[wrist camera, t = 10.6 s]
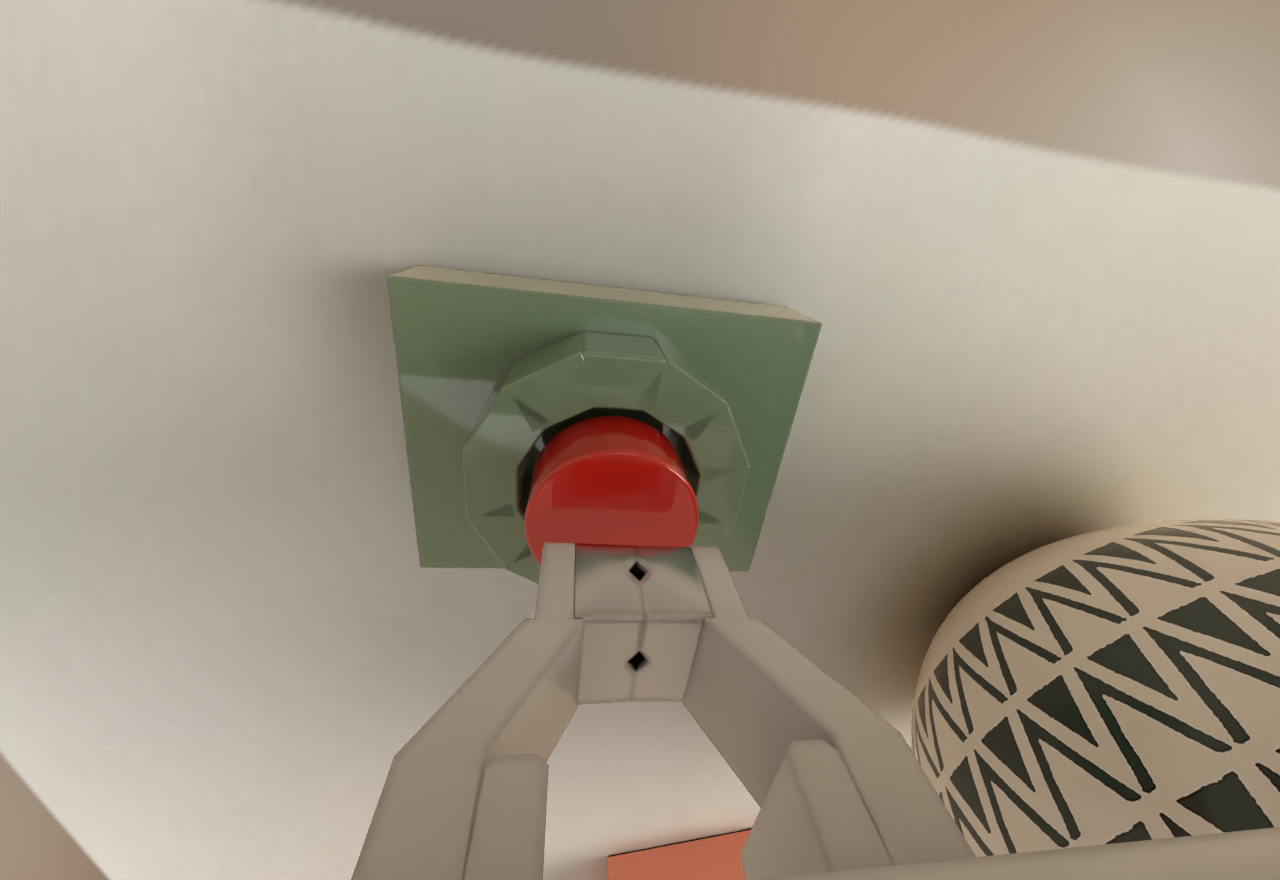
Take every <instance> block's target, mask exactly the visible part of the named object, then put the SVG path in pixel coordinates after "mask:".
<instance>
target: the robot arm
mask: <svg viewBox="0 0 1280 880" xmlns="http://www.w3.org/2000/svg"><path fill="white" fill-rule="evenodd" d="M624 701H684V703H683V704H684V705H685V707H686V708H687V709H688V711H689V712H690V713H691V715H692V716H693V717H694V719H695V720H696V722H697V723H698V724H699V726H700V727H701V728H702V730H703V731H704V732H705V734H706V735H707V736H708V738H709V739H710V740H711V742H712V743H713V744H714V746H715V747H716V748H717V750H718V751H719V752H720V754H721V755H722V756H723V758H724V759H725V760H726V762H727V763H728V764H729V766H730V767H731V769H732V770H733V771H734V773H735V774H736V775H737V777H738V778H739V779H740V781H741V782H742V783H743V785H744V786H745V787H746V789H747V790H748V791H749V793H750V794H751V795H752V797H753V798H754V799H755V801H756V802H757V803H758V805H759V806H760V807H761V810H760V812H759V814H758V816H757V819H756V821H755V823H754V825H753V828H752V830H751V832H750V834H749V837H748V839H747V841H746V843H745V845H744V848H743V850H742V852H741V854H740V857H741V861H742V865H743V869H744V874H745V878H746V880H1280V827H1275V828H1264V829H1254V830H1244V831H1234V832H1224V833H1214V834H1204V835H1194V836H1184V837H1174V838H1164V839H1154V840H1144V841H1134V842H1124V843H1114V844H1103V845H1093V846H1083V847H1073V848H1063V849H1053V850H1043V851H1033V852H1023V853H1013V854H1003V855H993V856H983V857H976V855H975V854H974V852H973V850H972V849H971V847H970V845H969V844H968V842H967V841H966V839H965V837H964V836H963V834H962V832H961V831H960V829H959V827H958V826H957V824H956V823H955V821H954V819H953V818H952V816H951V814H950V813H949V811H948V810H947V808H946V806H945V805H944V803H943V801H942V800H941V798H940V796H939V795H938V793H937V792H936V790H935V788H934V787H933V785H932V783H931V782H930V780H929V778H928V777H927V775H926V774H925V772H924V770H923V769H922V767H921V765H920V764H919V762H918V760H917V759H916V757H915V756H914V754H913V752H912V751H911V749H910V747H909V746H908V744H907V742H906V741H905V739H904V738H903V736H902V734H901V733H900V732H899V731H897V730H896V729H895V728H894V727H892V726H891V725H890V724H889V723H887V722H886V721H885V720H884V719H883V718H881V717H880V716H879V715H878V714H876V713H875V712H874V711H873V710H871V709H870V708H869V707H868V706H866V705H865V704H864V703H863V702H861V701H860V700H859V699H858V698H856V697H855V696H854V695H853V694H851V693H850V692H849V691H848V690H846V689H845V688H844V687H843V686H841V685H840V684H839V683H838V682H836V681H835V680H834V679H833V678H831V677H830V676H829V675H828V674H826V673H825V672H824V671H823V670H822V669H820V668H819V667H818V666H817V665H815V664H814V663H813V662H812V661H810V660H809V659H808V658H807V657H805V656H804V655H803V654H802V653H800V652H799V651H798V650H797V649H795V648H794V647H793V646H792V645H790V644H789V643H788V642H787V641H785V640H784V639H783V638H782V637H780V636H779V635H778V634H777V633H775V632H774V631H773V630H772V629H770V628H769V627H768V626H767V625H766V624H764V623H763V622H762V621H761V620H759V619H758V618H749V617H748V615H747V613H746V610H745V608H744V606H743V603H742V601H741V598H740V596H739V594H738V591H737V589H736V587H735V584H734V582H733V579H732V577H731V575H730V572H729V570H728V568H727V565H726V563H725V560H724V558H723V556H722V553H721V551H720V549H719V548H718V547H717V546H688V547H686V546H633V545H611V544H588V543H576V544H574V543H554V542H545V544H544V546H543V552H542V560H541V569H540V578H539V586H538V595H537V604H536V612H535V619H524V620H523V622H522V623H521V624H520V625H519V626H518V627H517V628H516V629H515V630H514V631H513V632H512V633H511V634H510V635H509V636H508V637H507V638H506V639H505V640H504V642H503V643H502V644H501V645H500V646H499V647H498V648H497V649H496V650H495V651H494V652H493V653H492V654H491V655H490V656H489V657H488V658H487V659H486V660H485V662H484V663H483V664H482V665H481V666H480V667H479V668H478V669H477V670H476V671H475V672H474V673H473V674H472V675H471V676H470V677H469V678H468V679H467V680H466V682H465V683H464V684H463V685H462V686H461V687H460V688H459V689H458V690H457V691H456V692H455V693H454V694H453V695H452V696H451V697H450V698H449V699H448V700H447V702H446V703H445V704H444V705H443V706H442V707H441V708H440V709H439V710H438V711H437V712H436V713H435V714H434V715H433V716H432V717H431V718H430V719H429V720H428V722H427V723H426V724H425V725H424V726H423V727H422V728H421V729H420V730H419V731H418V732H417V733H416V734H415V735H414V736H413V737H412V738H411V739H410V740H409V742H408V743H407V744H406V745H405V746H404V747H403V748H402V749H401V750H400V751H399V752H398V753H397V754H396V755H395V756H394V759H393V762H392V764H391V767H390V770H389V773H388V776H387V779H386V782H385V785H384V787H383V790H382V793H381V796H380V799H379V802H378V805H377V807H376V810H375V813H374V816H373V819H372V822H371V825H370V827H369V830H368V833H367V836H366V839H365V842H364V845H363V847H362V850H361V853H360V856H359V859H358V862H357V865H356V868H355V870H354V873H353V876H352V879H351V880H543V865H544V845H545V825H546V805H547V785H548V764H547V763H546V762H547V760H548V758H549V756H550V755H551V753H552V751H553V749H554V748H555V746H556V744H557V742H558V740H559V739H560V737H561V735H562V733H563V732H564V730H565V728H566V726H567V725H568V723H569V721H570V719H571V718H572V716H573V714H574V712H575V711H576V709H577V704H593V703H609V702H624Z"/></svg>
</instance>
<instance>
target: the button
mask: <svg viewBox="0 0 1280 880" xmlns="http://www.w3.org/2000/svg"><path fill="white" fill-rule="evenodd" d="M698 522H699V508H698V503H697V499H696V496H695V493H694V491H693V488H692V486H691V483H690V481H689V478H688V476H687V474H686V471H685V469H684V466H683V464H682V461H681V459H680V456H679V454H678V452H677V451H676V449H675V447H674V446H673V444H672V443H671V442H670V440H669V439H668V438H667V437H666V436H665V435H664V434H662V433H661V432H660V431H658V430H657V429H656V428H654V427H652V426H650V425H649V424H647V423H644V422H642V421H639V420H637V419H633V418H629V417H623V416H598V417H593V418H588V419H585V420H582V421H579V422H576V423H574V424H572V425H570V426H568V427H566V428H565V429H563V430H562V431H560V432H559V433H557V434H556V435H555V436H554V437H553V438H552V439H551V440H550V441H549V442H548V443H547V444H546V445H545V447H544V448H543V449H542V451H541V452H540V454H539V456H538V458H537V460H536V462H535V465H534V468H533V472H532V477H531V483H530V488H529V494H528V499H527V505H526V510H525V518H524V531H525V537H526V541H527V544H528V546H529V549H530V551H531V553H532V554H533V556H534V558H535V559H536V561H537V562H538V563H539V564H540V565H541V560H542V552H543V546H544V544H545V542H554V543H574V544H576V543H588V544H611V545H633V546H686V547H688V546H691V545H692V543H693V541H694V539H695V535H696V532H697V528H698Z"/></svg>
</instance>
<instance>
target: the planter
mask: <svg viewBox="0 0 1280 880" xmlns="http://www.w3.org/2000/svg"><path fill="white" fill-rule="evenodd" d="M911 751H912V752H913V754H914V756H915V757H916V759H917V760H918V762H919V764H920V765H921V767H922V769H923V770H924V772H925V774H926V775H927V777H928V778H929V780H930V782H931V783H932V785H933V787H934V788H935V790H936V792H937V793H938V795H939V796H940V798H941V800H942V801H943V803H944V805H945V806H946V808H947V810H948V811H949V813H950V814H951V816H952V818H953V819H954V821H955V823H956V824H957V826H958V827H959V829H960V831H961V832H962V834H963V836H964V837H965V839H966V841H967V842H968V844H969V845H970V847H971V849H972V850H973V852H974V854H975V855H976V857H983V856H993V855H1003V854H1013V853H1023V852H1033V851H1043V850H1053V849H1063V848H1073V847H1083V846H1093V845H1103V844H1114V843H1124V842H1134V841H1144V840H1154V839H1164V838H1174V837H1184V836H1194V835H1204V834H1214V833H1224V832H1234V831H1244V830H1254V829H1264V828H1275V827H1280V522H1274V521H1262V520H1239V519H1195V520H1178V521H1162V522H1150V523H1142V524H1135V525H1127V526H1120V527H1113V528H1108V529H1103V530H1098V531H1094V532H1089V533H1084V534H1080V535H1076V536H1072V537H1069V538H1066V539H1062V540H1059V541H1056V542H1054V543H1051V544H1048V545H1045V546H1043V547H1040V548H1037V549H1035V550H1033V551H1030V552H1028V553H1026V554H1024V555H1022V556H1020V557H1018V558H1016V559H1014V560H1012V561H1011V562H1009V563H1007V564H1006V565H1004V566H1002V567H1001V568H999V569H998V570H996V571H995V572H993V573H992V574H990V575H989V576H987V577H986V578H985V579H983V580H982V581H981V582H980V583H978V584H977V585H976V586H975V587H974V588H973V589H971V590H970V591H969V592H968V593H967V594H966V595H965V596H964V597H963V598H962V599H961V600H960V601H959V602H958V603H957V604H956V606H955V607H954V608H953V609H952V610H951V612H950V613H949V614H948V616H947V617H946V618H945V620H944V621H943V623H942V625H941V626H940V628H939V629H938V631H937V633H936V634H935V636H934V638H933V640H932V642H931V645H930V647H929V649H928V652H927V654H926V657H925V659H924V662H923V665H922V668H921V671H920V675H919V679H918V682H917V686H916V691H915V697H914V704H913V711H912V721H911Z"/></svg>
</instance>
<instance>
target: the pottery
mask: <svg viewBox="0 0 1280 880" xmlns="http://www.w3.org/2000/svg"><path fill="white" fill-rule="evenodd" d="M750 832H751V830H747V831H742V832H737V833H732V834H727V835H721V836H716V837H711V838H706V839H700V840H695V841H690V842H685V843H680V844H674V845H669V846H664V847H659V848H653V849H648V850H643V851H638V852H632V853H627V854H622V855H617V856H612V857H607V859H608V880H746V878H745V874H744V869H743V865H742V861H741V857H740V854H741V852H742V850H743V848H744V845H745V843H746V841H747V839H748V837H749V834H750Z"/></svg>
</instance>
